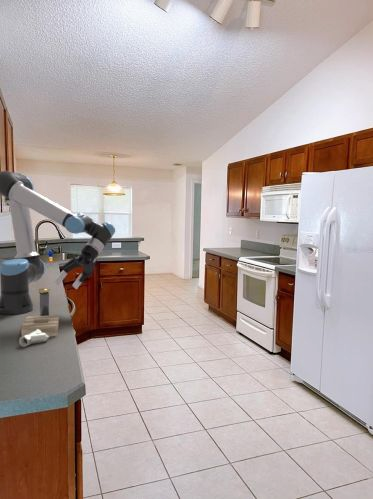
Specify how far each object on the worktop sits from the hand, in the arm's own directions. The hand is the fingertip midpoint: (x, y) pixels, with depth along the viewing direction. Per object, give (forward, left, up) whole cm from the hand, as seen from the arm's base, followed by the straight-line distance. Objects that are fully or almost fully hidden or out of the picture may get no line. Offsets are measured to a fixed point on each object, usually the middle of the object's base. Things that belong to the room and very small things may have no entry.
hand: (65, 285), depth 155 cm
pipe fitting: (+34, -9, -14) cm, 38 cm away
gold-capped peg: (+5, -8, -13) cm, 17 cm away
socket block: (+21, -8, -13) cm, 26 cm away
